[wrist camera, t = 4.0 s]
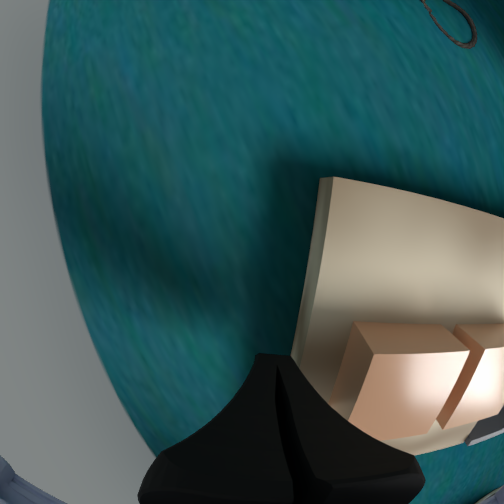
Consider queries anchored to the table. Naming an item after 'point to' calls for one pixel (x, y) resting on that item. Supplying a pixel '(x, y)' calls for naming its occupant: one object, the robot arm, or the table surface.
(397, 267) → the plate
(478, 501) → the coffee can
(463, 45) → the hacksaw
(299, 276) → the table surface
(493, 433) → the tray
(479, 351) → the tile
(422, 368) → the tile
